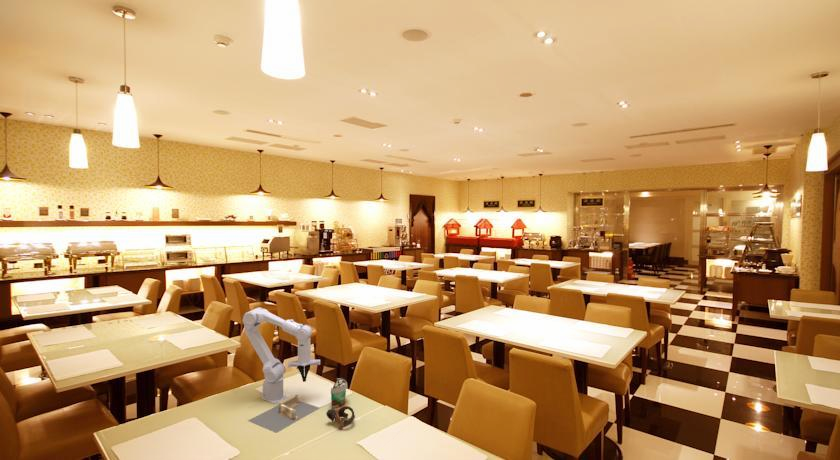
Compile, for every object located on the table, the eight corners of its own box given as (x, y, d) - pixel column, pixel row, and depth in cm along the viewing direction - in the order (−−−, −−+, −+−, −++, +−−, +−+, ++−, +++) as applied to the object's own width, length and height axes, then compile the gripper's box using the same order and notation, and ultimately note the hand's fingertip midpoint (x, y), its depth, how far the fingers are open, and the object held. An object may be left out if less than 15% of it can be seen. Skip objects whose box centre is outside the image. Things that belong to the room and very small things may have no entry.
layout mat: (247, 421, 170) (247, 420, 170) (292, 398, 190) (292, 398, 190) (276, 433, 161) (276, 432, 161) (320, 408, 181) (320, 407, 181)
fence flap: (280, 413, 176) (279, 405, 176) (283, 411, 177) (283, 403, 177) (293, 419, 170) (293, 411, 170) (296, 418, 172) (296, 410, 172)
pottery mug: (354, 417, 175) (357, 405, 171) (349, 437, 167) (353, 425, 163) (326, 411, 174) (330, 399, 170) (321, 431, 165) (324, 419, 162)
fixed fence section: (278, 412, 177) (277, 403, 177) (297, 402, 186) (297, 394, 186) (280, 413, 176) (280, 404, 176) (299, 403, 185) (299, 395, 185)
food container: (344, 411, 179) (344, 389, 179) (330, 411, 179) (330, 389, 179) (349, 398, 191) (349, 377, 191) (337, 398, 192) (337, 377, 191)
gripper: (287, 356, 182) (287, 385, 183) (320, 353, 186) (320, 382, 186) (288, 351, 189) (288, 379, 190) (320, 348, 193) (320, 376, 193)
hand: (304, 380), depth 189 cm, fingers closed
